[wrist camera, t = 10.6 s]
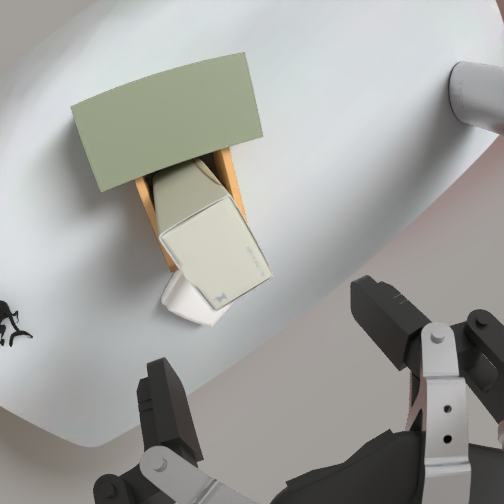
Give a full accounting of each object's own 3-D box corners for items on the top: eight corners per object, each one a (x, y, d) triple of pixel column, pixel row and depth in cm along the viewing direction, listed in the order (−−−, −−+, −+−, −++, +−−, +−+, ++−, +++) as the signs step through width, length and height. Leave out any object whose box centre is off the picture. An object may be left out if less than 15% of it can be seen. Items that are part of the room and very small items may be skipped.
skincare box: (225, 207, 29) (279, 278, 19) (183, 232, 29) (215, 317, 19) (192, 148, 25) (234, 191, 15) (147, 176, 25) (156, 238, 15)
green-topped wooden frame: (225, 58, 22) (244, 52, 18) (261, 215, 30) (282, 237, 26) (83, 104, 20) (70, 106, 16) (142, 259, 28) (145, 289, 24)
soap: (208, 320, 35) (215, 337, 33) (155, 299, 31) (158, 316, 29) (256, 258, 33) (267, 272, 31) (203, 228, 29) (210, 241, 27)
